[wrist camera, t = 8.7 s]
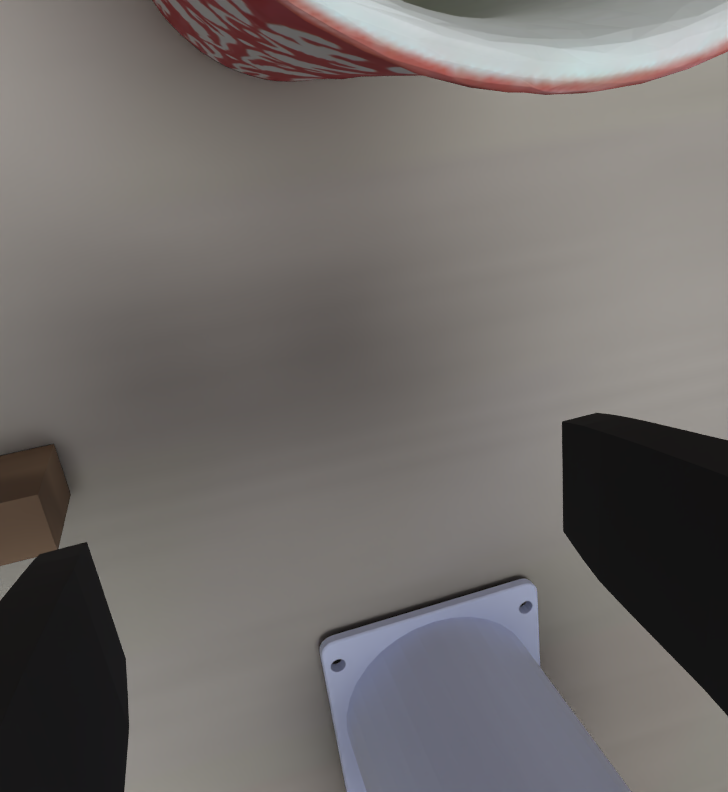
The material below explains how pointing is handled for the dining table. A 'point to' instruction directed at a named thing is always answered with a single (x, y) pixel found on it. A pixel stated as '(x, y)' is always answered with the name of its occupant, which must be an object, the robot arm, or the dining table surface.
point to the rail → (31, 503)
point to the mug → (458, 39)
